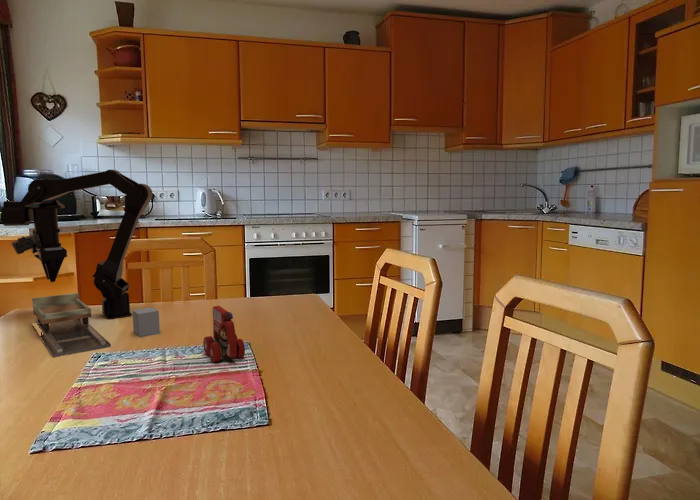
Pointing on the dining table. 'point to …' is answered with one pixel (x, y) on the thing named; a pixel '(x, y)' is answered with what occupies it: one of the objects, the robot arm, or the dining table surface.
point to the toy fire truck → (223, 337)
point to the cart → (60, 309)
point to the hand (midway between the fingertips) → (51, 280)
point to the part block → (146, 322)
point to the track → (71, 337)
